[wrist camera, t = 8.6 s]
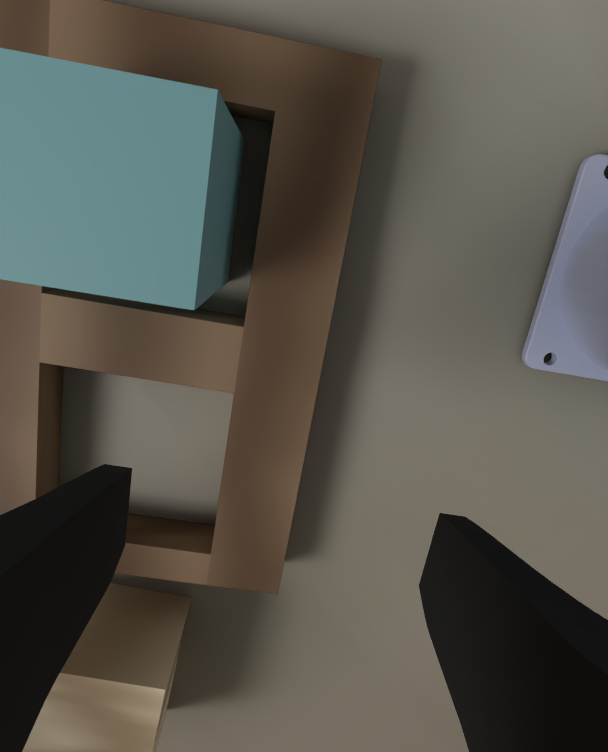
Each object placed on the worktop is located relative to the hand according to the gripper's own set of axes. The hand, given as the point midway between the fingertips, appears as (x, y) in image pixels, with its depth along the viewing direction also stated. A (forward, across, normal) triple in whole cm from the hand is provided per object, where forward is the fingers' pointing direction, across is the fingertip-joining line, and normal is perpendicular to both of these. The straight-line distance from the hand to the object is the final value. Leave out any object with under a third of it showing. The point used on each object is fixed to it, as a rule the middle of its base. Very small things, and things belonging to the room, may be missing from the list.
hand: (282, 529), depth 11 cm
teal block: (+10, +6, -7) cm, 13 cm away
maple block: (+7, +5, +10) cm, 14 cm away
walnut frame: (+9, +6, -2) cm, 11 cm away
